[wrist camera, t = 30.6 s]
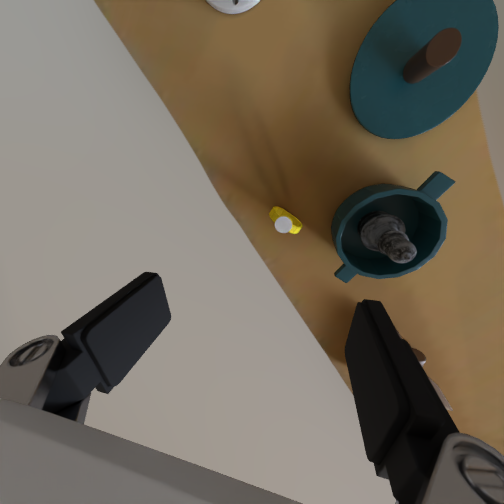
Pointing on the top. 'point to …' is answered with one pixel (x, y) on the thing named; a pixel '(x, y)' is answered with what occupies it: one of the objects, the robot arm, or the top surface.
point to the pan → (400, 205)
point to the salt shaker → (386, 236)
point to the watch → (285, 221)
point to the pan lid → (421, 64)
